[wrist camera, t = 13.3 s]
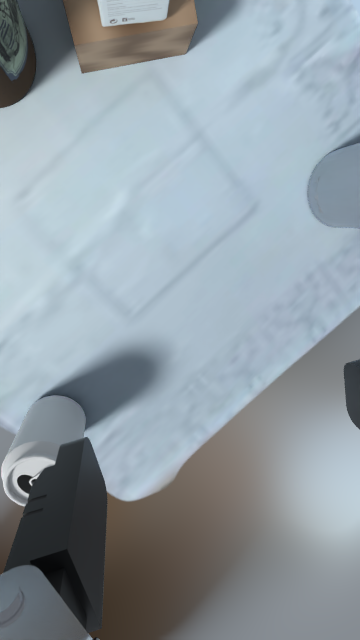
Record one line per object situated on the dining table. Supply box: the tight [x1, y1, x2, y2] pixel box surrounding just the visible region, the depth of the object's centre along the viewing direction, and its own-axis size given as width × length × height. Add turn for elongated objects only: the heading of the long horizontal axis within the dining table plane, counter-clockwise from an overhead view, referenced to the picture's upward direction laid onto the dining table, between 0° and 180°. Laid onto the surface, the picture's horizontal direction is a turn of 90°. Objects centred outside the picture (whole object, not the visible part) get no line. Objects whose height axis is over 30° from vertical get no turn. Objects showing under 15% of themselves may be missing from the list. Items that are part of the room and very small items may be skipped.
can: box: [1, 395, 86, 506], centre depth 40 cm, size 8×8×12 cm
